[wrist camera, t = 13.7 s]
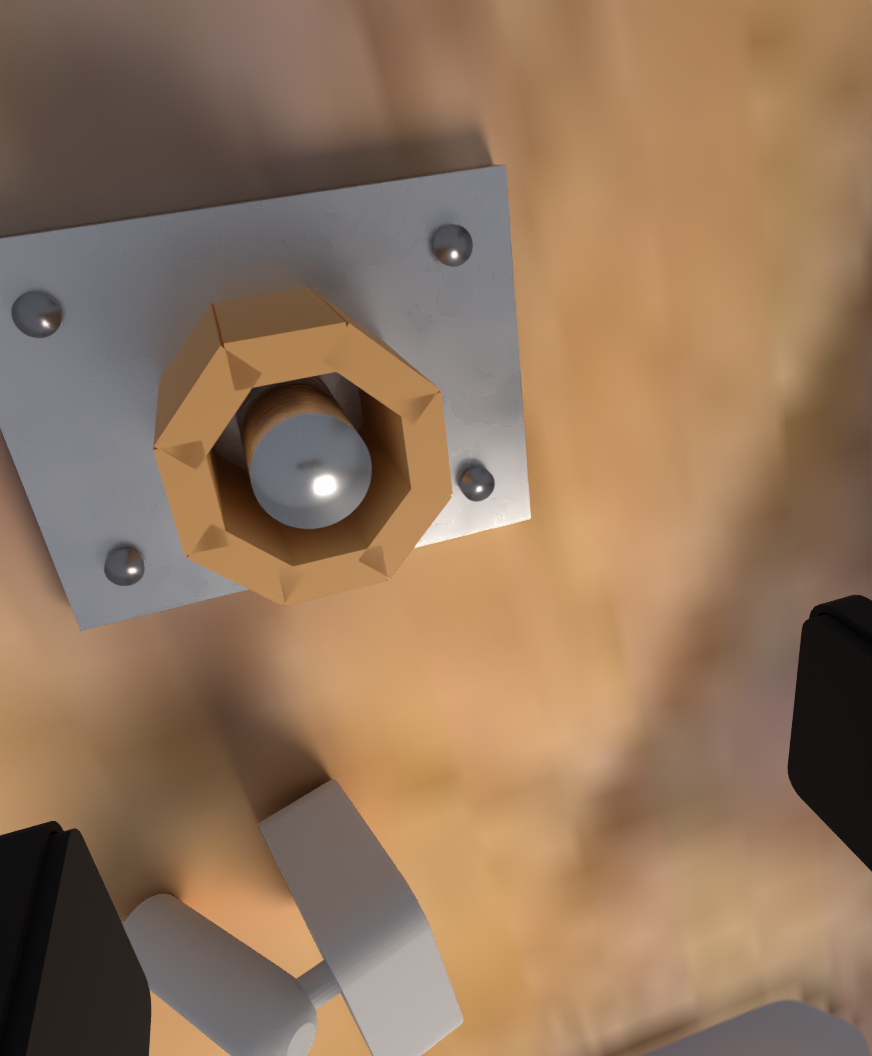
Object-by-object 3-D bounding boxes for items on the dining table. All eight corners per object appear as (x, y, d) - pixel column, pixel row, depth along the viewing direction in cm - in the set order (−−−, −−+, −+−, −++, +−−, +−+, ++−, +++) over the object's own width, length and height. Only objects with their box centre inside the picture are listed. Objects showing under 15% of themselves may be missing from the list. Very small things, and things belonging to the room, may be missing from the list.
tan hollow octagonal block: (375, 275, 24) (431, 306, 18) (405, 485, 27) (460, 562, 22) (138, 314, 22) (126, 360, 17) (199, 531, 25) (205, 626, 20)
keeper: (493, 165, 24) (599, 164, 18) (520, 508, 30) (608, 596, 24) (-60, 245, 21) (-157, 278, 15) (83, 615, 26) (55, 750, 20)
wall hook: (70, 877, 30) (114, 1119, 22) (310, 741, 34) (422, 904, 26) (152, 996, 34) (215, 1238, 26) (359, 861, 37) (471, 1036, 29)
